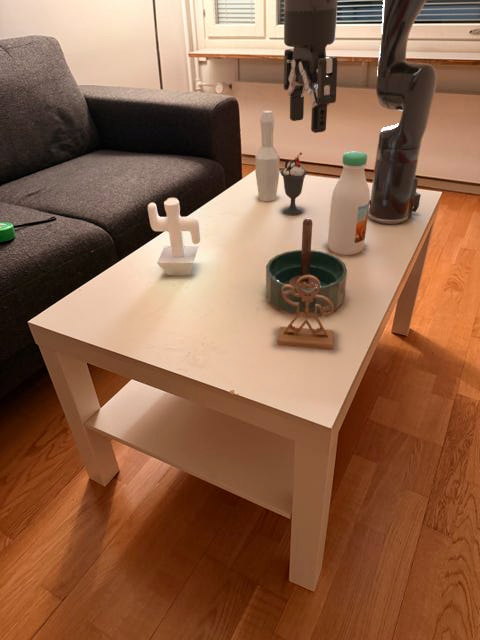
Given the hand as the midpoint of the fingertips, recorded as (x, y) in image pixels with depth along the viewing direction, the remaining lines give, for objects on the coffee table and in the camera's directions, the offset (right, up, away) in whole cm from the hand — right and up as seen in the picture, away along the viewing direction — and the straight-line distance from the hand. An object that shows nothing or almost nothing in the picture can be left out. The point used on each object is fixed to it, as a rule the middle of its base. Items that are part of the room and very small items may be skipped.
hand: (306, 125), depth 76 cm
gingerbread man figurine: (0, -35, 0) cm, 35 cm away
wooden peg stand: (+1, -27, +10) cm, 29 cm away
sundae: (+3, -4, +43) cm, 43 cm away
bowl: (+1, -27, +10) cm, 29 cm away
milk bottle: (+12, -16, +25) cm, 32 cm away
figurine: (-23, -22, +20) cm, 38 cm away
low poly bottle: (-3, +1, +51) cm, 51 cm away
